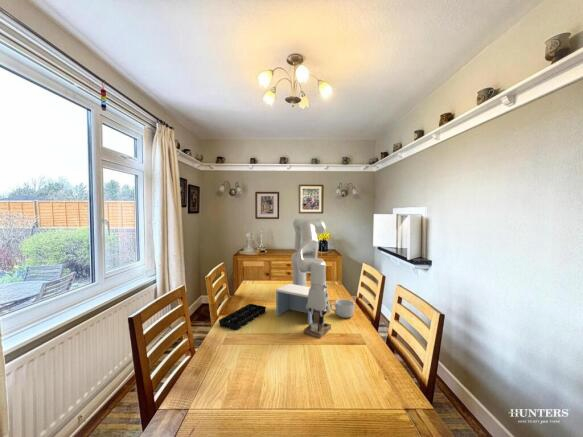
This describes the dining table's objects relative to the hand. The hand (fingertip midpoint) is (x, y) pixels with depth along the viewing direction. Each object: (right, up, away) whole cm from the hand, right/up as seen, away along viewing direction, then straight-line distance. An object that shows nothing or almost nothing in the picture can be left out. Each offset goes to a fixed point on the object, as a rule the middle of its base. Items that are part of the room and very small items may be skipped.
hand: (317, 322), depth 132 cm
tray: (0, -4, 0) cm, 4 cm away
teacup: (+16, -4, +20) cm, 26 cm away
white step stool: (-9, -4, +20) cm, 22 cm away
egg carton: (-40, -5, +15) cm, 43 cm away
